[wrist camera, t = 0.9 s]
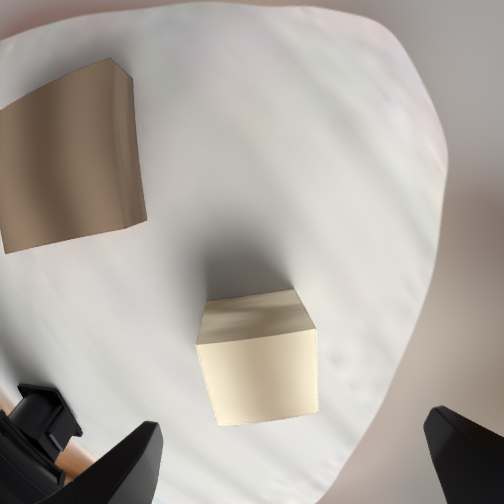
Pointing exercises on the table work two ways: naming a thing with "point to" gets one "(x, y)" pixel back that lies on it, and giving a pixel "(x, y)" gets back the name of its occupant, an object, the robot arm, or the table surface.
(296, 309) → the maple cube
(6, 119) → the walnut block
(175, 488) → the table surface
